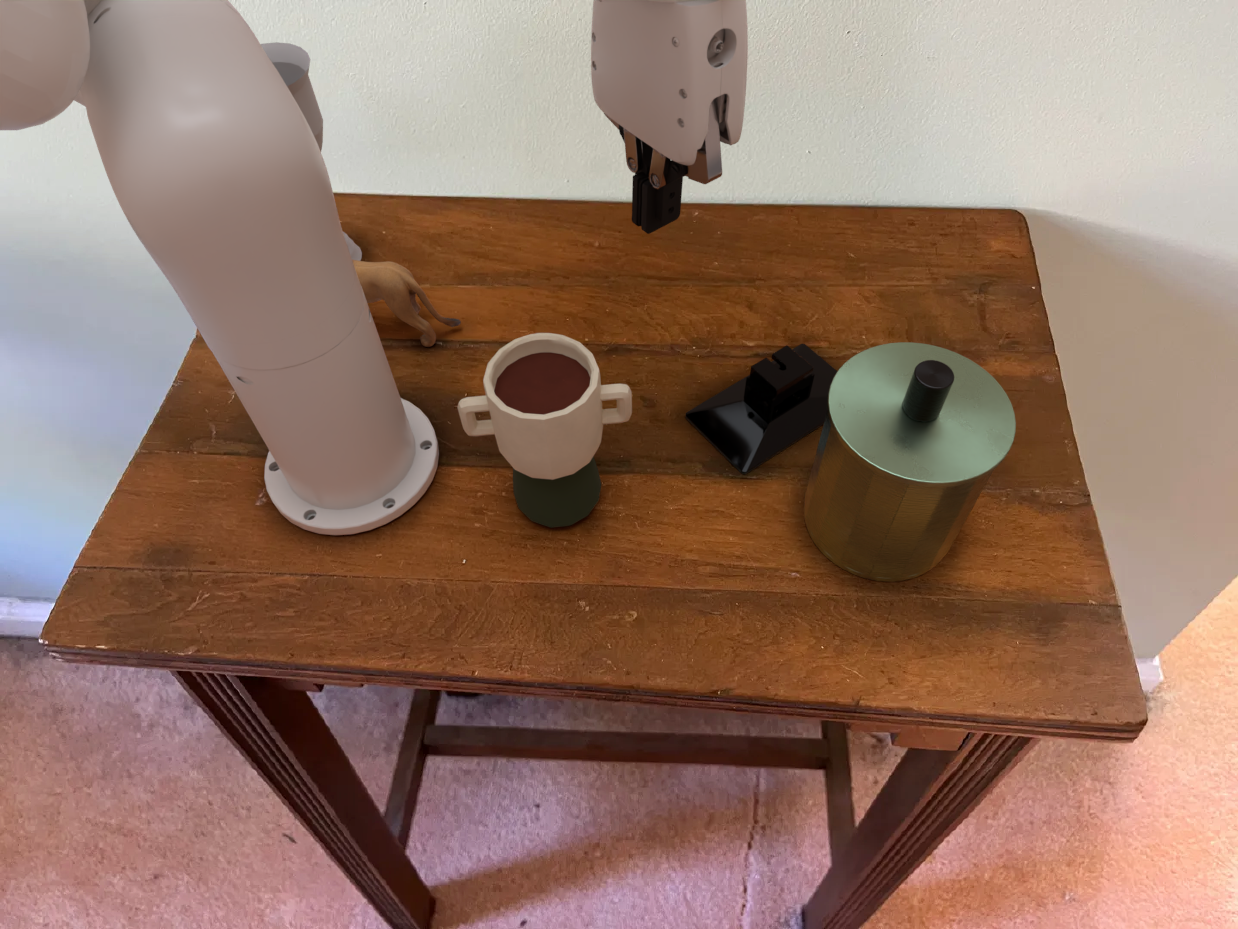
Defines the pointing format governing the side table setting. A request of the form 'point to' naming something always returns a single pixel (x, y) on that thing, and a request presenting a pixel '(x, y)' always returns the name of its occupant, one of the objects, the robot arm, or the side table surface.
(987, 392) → the pot lid
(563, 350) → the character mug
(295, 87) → the chalice
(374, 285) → the lion figurine
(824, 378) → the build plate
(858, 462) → the pot
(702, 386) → the side table surface
